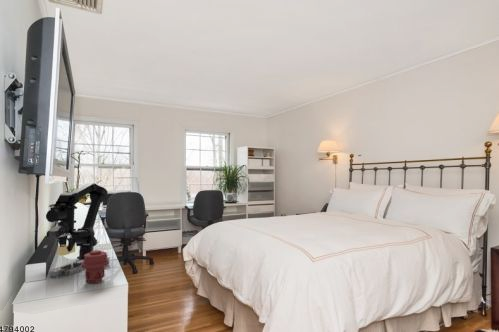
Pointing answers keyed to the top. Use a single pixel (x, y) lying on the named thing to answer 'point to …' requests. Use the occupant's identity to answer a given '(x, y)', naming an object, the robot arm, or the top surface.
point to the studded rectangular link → (61, 270)
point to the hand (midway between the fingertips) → (66, 251)
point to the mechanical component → (95, 265)
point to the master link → (64, 250)
